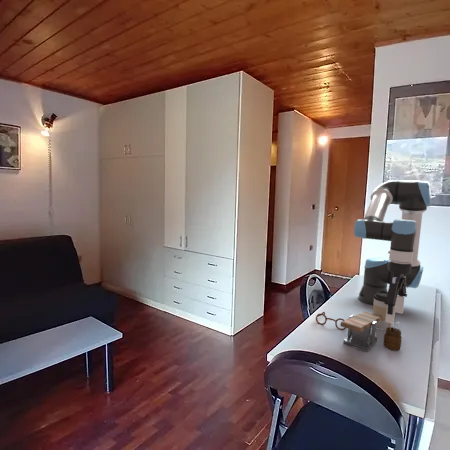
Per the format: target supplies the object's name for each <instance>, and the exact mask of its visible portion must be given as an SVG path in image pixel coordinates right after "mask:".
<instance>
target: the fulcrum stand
mask: <svg viewBox="0 0 450 450" xmlns="http://www.w3.org/2000/svg"><path fill="white" fill-rule="evenodd" d="M353 316H355V315H354V314H351V315H349V316H348V319H349V318H351V317H353ZM376 324H377V321H374V322H373V323H372V326H370V327H368V328H367V329H365V330H363V331H362V332H358V331H354V330H351V329H348V328H347V337H345V338H344V339H343V342H342V343H343V345H347V346H349V347H352V348H354V349H358V350H360V351H363V352H367V353H368V352H369V351H370V350H371V349H372V348H373V346H374V345H375V344H376V343H377V342H378V336H376V333H377V328H376Z"/></svg>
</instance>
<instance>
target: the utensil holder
mask: <svg viewBox="0 0 450 450" xmlns="http://www.w3.org/2000/svg"><path fill="white" fill-rule="evenodd" d="M396 324H397V325H396ZM393 325H396V326H393V327H392V326H391V327H390V323H389V327H388V328H386V330H385V332H384V334H383V347H384V348H385V349H387V350H389V351H393V352H394V351H395V352H398V351H400V350H401V347H402V339H403V338H402V331H401V328H402V327H401V326H399V328H398V325H401V323H400V322H398V321H396V322H394V324H393Z"/></svg>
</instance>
